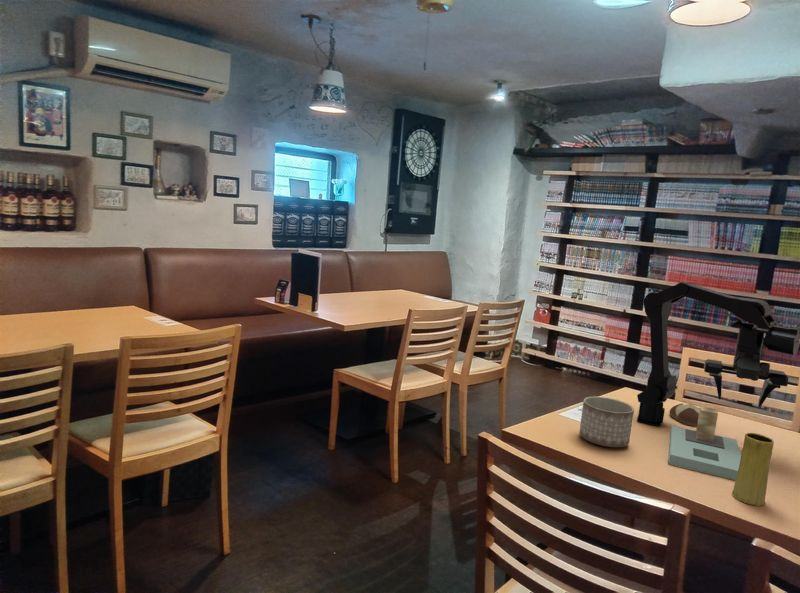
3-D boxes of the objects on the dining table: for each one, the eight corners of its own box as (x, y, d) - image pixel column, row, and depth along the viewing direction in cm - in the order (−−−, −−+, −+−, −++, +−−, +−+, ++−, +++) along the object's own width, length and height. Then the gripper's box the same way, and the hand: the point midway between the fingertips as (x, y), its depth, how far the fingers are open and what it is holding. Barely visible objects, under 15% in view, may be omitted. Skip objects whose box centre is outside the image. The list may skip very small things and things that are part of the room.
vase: (765, 509, 115) (777, 445, 112) (731, 499, 118) (742, 437, 116) (763, 498, 120) (775, 437, 118) (731, 489, 123) (742, 429, 121)
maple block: (696, 438, 145) (700, 410, 144) (695, 433, 148) (700, 406, 147) (713, 442, 143) (718, 413, 142) (712, 437, 147) (717, 409, 145)
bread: (686, 428, 161) (689, 412, 161) (662, 414, 172) (665, 399, 172) (719, 428, 163) (722, 413, 162) (694, 415, 174) (696, 400, 174)
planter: (576, 429, 153) (581, 393, 151) (623, 435, 150) (628, 400, 149) (581, 446, 140) (587, 408, 139) (633, 454, 138) (638, 415, 137)
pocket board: (668, 463, 134) (670, 453, 133) (670, 433, 155) (671, 424, 155) (743, 482, 127) (745, 471, 126) (734, 448, 148) (736, 438, 147)
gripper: (710, 345, 140) (700, 403, 143) (797, 359, 132) (785, 419, 134) (708, 338, 150) (699, 392, 152) (789, 351, 142) (778, 407, 144)
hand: (739, 402), depth 146 cm, fingers open, 9 cm apart
